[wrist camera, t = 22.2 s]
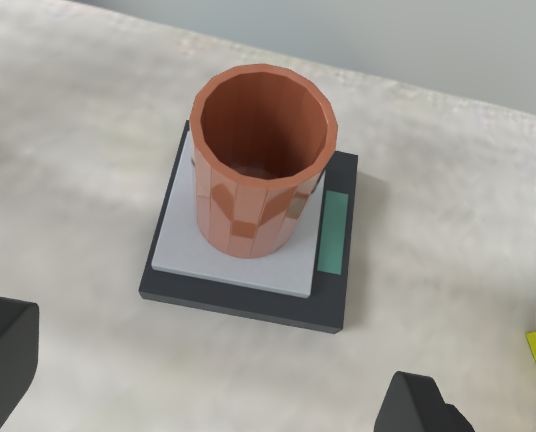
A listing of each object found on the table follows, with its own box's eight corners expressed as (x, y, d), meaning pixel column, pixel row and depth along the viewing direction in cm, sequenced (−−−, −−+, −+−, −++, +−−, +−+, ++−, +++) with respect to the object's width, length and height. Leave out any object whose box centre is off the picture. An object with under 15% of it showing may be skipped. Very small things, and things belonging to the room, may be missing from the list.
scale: (142, 298, 30) (135, 287, 27) (187, 134, 35) (185, 111, 33) (334, 334, 31) (347, 326, 28) (350, 168, 36) (362, 148, 33)
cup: (184, 247, 29) (174, 171, 20) (207, 155, 31) (207, 51, 22) (290, 268, 29) (329, 202, 20) (303, 175, 32) (343, 80, 23)
